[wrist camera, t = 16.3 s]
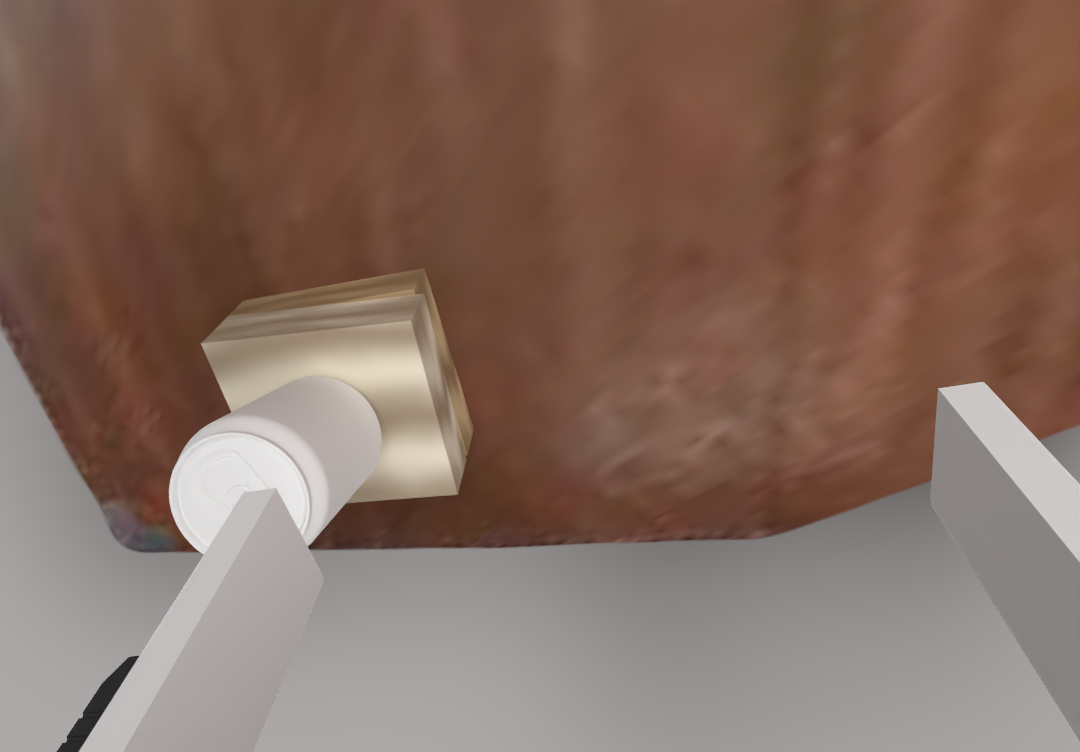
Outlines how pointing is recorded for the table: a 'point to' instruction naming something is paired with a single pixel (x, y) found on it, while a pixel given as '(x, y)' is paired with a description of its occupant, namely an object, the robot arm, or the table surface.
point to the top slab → (356, 381)
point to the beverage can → (278, 458)
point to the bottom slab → (371, 290)
